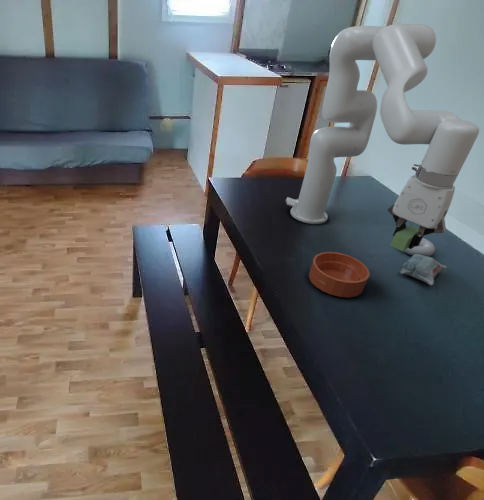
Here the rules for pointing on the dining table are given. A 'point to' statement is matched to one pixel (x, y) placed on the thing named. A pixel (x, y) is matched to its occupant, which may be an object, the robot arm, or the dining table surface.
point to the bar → (404, 237)
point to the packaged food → (422, 268)
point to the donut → (422, 248)
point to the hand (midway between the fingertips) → (404, 242)
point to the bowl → (338, 274)
